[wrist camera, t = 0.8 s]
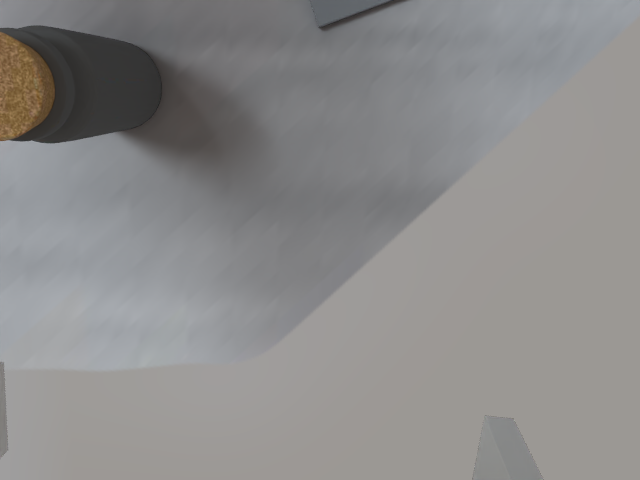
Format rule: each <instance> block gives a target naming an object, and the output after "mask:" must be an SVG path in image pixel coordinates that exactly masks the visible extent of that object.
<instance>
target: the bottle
mask: <svg viewBox="0 0 640 480" xmlns="http://www.w3.org/2000/svg"><path fill="white" fill-rule="evenodd" d="M161 89H162V87H161V79H160V75H159V72H158V70H157V68H156V66H155V64H154V63H153V61H152V60H151V58H150V57H149V56H148V55H147V54H146V53H145V52H144V51H142V50H141V49H140V48H138V47H136V46H134V45H132V44H130V43H127V42H123V41H119V40H115V39H110V38H105V37H100V36H95V35H90V34H85V33H80V32H75V31H70V30H64V29H59V28H53V27H47V26H27V27H23V28H19V29H14V28H0V141H6V140H12V141H31V140H32V141H36V142H40V143H60V142H66V141H73V140H78V139H83V138H88V137H93V136H98V135H103V134H108V133H113V132H117V131H122V130H126V129H131V128H134V127H137V126H139V125H141V124H143V123H144V122H146V121H147V120H148V119H149V118H150V117H151V116H152V115H153V114H154V112H155V111H156V109H157V107H158V105H159V102H160V99H161Z"/></svg>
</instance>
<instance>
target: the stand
mask: <svg viewBox="0 0 640 480" xmlns="http://www.w3.org/2000/svg"><path fill="white" fill-rule="evenodd" d="M390 1H393V0H310V2H311V5H312V8H313V11H314V14H315V17H316V20H317V23H318V27H319V28H321V27H323V26H326V25H329V24H331V23H334V22H337V21H339V20H342V19H345V18H347V17H350V16H353V15H355V14H358V13H361V12H363V11H366V10H369V9H371V8H374V7H377V6H379V5H382V4H385V3H387V2H390Z"/></svg>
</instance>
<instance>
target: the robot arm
mask: <svg viewBox="0 0 640 480" xmlns="http://www.w3.org/2000/svg"><path fill="white" fill-rule="evenodd" d="M7 437H8V436H7V417H6V398H5V378H4V362H0V458H1V457H2V456H3V455H4V454H5V453H6V452H7V450H8V439H7ZM472 480H544V479H543V478H542V475H541V473H540V471H539V469H538V467H537V466H536V463H535V461H534V459H533V457H532V455H531V454H530V451H529V449H528V447H527V445H526V443H525V441H524V439H523V437H522V435H521V433H520V431H519V429H518V427H517V425H516V423H515V421H514V419H512V418H503V417H494V416H485V417H484V422H483V427H482V433H481V437H480V443H479V448H478V453H477V458H476V463H475V468H474V473H473V478H472Z"/></svg>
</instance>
